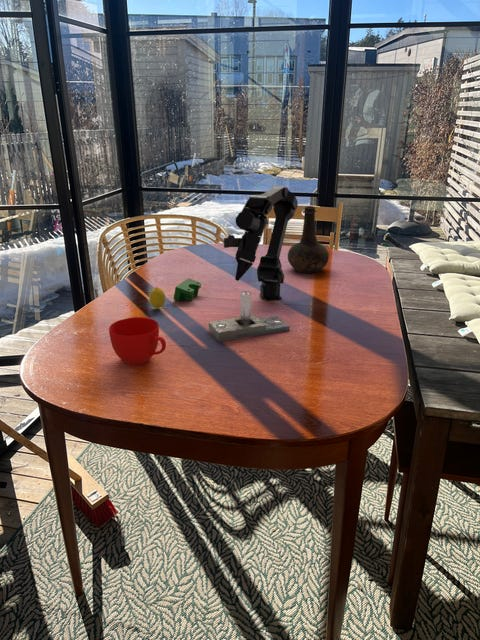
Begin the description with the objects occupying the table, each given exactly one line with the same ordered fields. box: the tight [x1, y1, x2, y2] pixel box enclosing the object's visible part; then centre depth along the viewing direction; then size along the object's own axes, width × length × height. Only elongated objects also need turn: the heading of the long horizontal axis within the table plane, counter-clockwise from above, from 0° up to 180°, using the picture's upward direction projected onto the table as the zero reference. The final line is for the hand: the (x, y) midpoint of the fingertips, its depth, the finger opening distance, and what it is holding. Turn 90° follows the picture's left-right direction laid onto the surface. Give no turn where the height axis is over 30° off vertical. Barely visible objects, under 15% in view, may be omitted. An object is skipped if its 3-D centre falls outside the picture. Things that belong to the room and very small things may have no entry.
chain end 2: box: [235, 315, 290, 340], centre depth 148 cm, size 18×9×2 cm, turn 112°
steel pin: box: [239, 291, 252, 326], centre depth 145 cm, size 3×3×12 cm
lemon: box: [148, 286, 166, 310], centre depth 163 cm, size 6×6×8 cm
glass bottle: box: [287, 205, 330, 274], centre depth 206 cm, size 18×18×28 cm
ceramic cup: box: [108, 316, 167, 366], centre depth 126 cm, size 13×17×10 cm
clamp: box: [173, 277, 202, 302], centre depth 175 cm, size 12×6×9 cm, turn 156°
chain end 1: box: [208, 314, 266, 343], centre depth 146 cm, size 16×9×3 cm, turn 112°
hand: (236, 279), depth 157 cm, fingers open, 9 cm apart
